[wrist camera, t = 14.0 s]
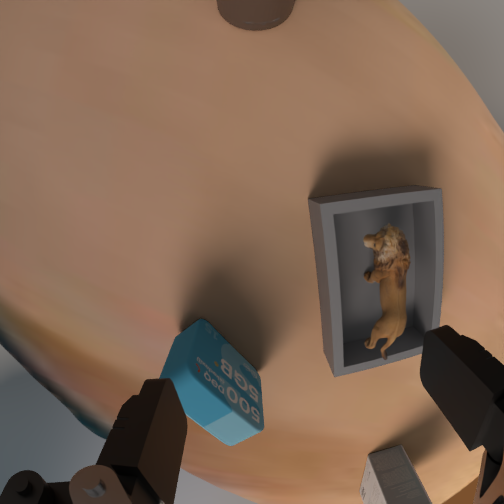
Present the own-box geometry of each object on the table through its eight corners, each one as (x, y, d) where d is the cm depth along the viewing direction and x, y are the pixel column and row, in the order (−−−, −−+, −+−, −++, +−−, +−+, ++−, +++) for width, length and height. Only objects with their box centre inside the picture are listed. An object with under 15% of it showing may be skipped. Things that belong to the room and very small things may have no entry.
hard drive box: (390, 481, 51) (416, 546, 31) (358, 490, 51) (379, 559, 31) (402, 442, 47) (440, 517, 27) (366, 453, 47) (397, 534, 28)
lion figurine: (348, 245, 38) (366, 221, 29) (386, 240, 38) (413, 215, 29) (365, 363, 34) (390, 372, 25) (404, 354, 34) (437, 359, 25)
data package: (261, 373, 41) (265, 435, 29) (235, 389, 42) (234, 451, 30) (201, 313, 39) (185, 368, 27) (176, 332, 39) (154, 389, 28)
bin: (307, 198, 35) (319, 204, 29) (415, 185, 35) (441, 188, 29) (323, 351, 40) (334, 377, 35) (416, 328, 40) (436, 348, 34)
